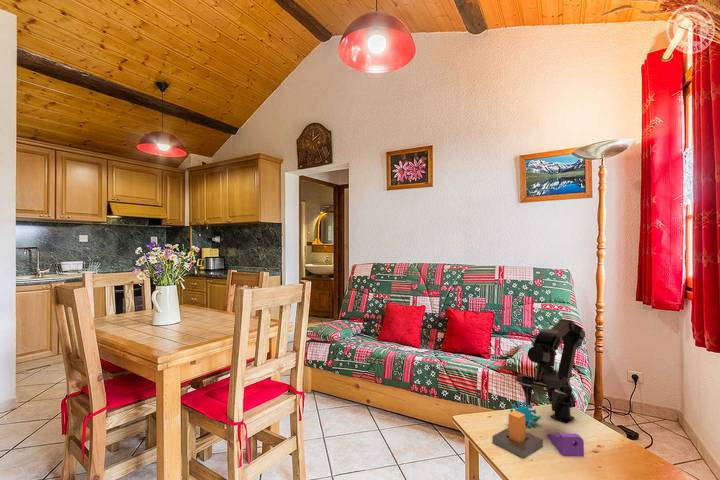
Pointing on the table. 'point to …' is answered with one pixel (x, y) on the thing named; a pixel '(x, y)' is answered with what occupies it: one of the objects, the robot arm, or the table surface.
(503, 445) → the slotted square tile
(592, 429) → the table surface
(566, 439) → the bracket
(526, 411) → the gear
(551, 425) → the table surface
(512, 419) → the tall orange pillar
